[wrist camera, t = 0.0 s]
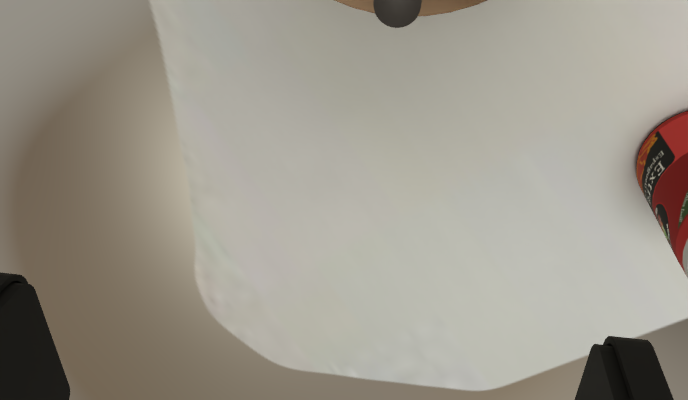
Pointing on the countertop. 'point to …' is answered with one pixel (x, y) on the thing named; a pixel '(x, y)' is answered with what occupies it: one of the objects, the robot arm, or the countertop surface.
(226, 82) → the countertop surface
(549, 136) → the countertop surface
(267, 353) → the countertop surface
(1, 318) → the robot arm
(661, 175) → the canned food
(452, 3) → the turntable
